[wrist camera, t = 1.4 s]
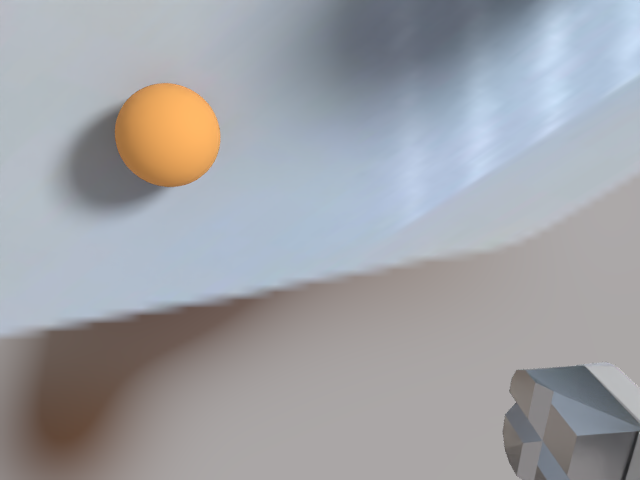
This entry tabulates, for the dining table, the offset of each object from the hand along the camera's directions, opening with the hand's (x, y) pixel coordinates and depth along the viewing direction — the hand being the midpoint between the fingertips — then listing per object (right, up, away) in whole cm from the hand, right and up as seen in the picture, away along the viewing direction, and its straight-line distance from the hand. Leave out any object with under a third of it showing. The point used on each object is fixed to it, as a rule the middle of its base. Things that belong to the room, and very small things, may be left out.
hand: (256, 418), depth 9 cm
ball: (-7, +8, +22) cm, 25 cm away
